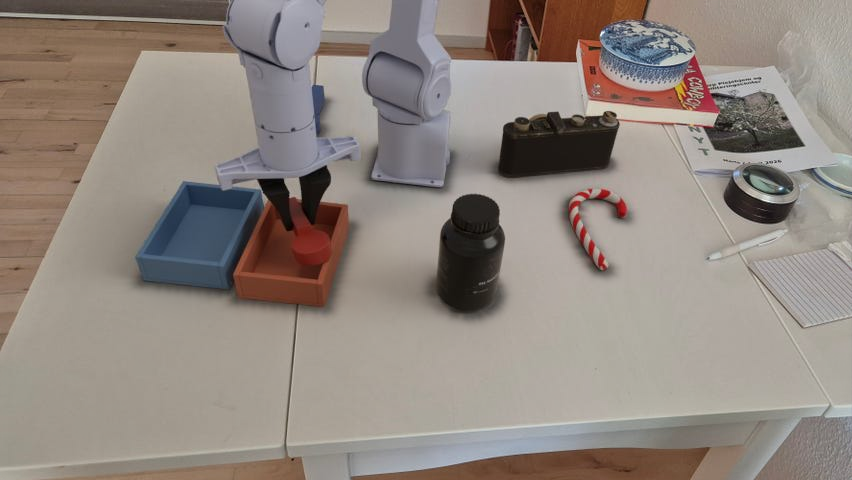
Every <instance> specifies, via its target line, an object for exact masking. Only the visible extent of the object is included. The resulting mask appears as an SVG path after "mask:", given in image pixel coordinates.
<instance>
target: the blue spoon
mask: <svg viewBox="0 0 852 480" xmlns="http://www.w3.org/2000/svg"><path fill="white" fill-rule="evenodd" d="M311 86H312V96H313V107H314V117H315V128H316V136H318V135H319V134H320V133H321V120H320V117H319V115H320V112H321V110H322V108H323V106H324V104H325V102H326V99H325V86H324V85H321V84H312V85H311Z"/></svg>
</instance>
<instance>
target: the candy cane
mask: <svg viewBox="0 0 852 480" xmlns="http://www.w3.org/2000/svg"><path fill="white" fill-rule="evenodd" d="M590 199H600V200H604V201H608V202H610V203H612V204H613V205H615V206H616V207H617V215H618V217H619V218H622V219H623V218H625V217H626V216H627V213H628V210H627V209H628V208H627V205H626V202H625V201H624V200H623V198H622V197H620V196H619V194H616V193H615V192H613V191H610V190H608V189H603V188H588V189H583V190H581V191H579V192H577V193H576V194H575V195H574V196H573V197H572V198H571V199H570V201H569V204H568V217H569V221H570V224H571V226H572V228H573V231H574V233H575V235H576V237H577V238H578V240H579V242H580V243H581V245H582V246H583V249H584V250H585V251H586V253H587V254H588V255H589V257H590V259H591V260H592V261H593V263H594V264H595V265H596V267H597V268H598V269H599V270H601V271H606V270H607V269H608V268H609V265H610V264H609V262H608V261H607V260H608V259H606V258H605V256H604V255H603V254H602V252H601V250H599V248H598V246H597V245H596V243H595V242H594V241H593V239H592V237H591V236H590V234H589V232H588V230H587V229H586V227H585V225H584V224H583V221H582V219H581V217H580V213H579V207H580V205H581V203H582V202H584V201H586V200H590Z"/></svg>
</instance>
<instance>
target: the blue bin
mask: <svg viewBox="0 0 852 480" xmlns="http://www.w3.org/2000/svg"><path fill="white" fill-rule="evenodd" d="M264 207H265V205H264V199H263V192H262V189H261V188H259V189H258V188H250V187H241V186H233V188H232V189H228V190H224V191H222V189H221V187H220V184H215V183H205V182H195V181H186V180H183V181H182V183H181V184H180V185H179V187H178V188H177V190H176V192H175V194H174V195H173V196H172V198H171V200H170V201H169V202H168V204H167V206H166V208H165V209H164V211H163V212H162V214H161V215H160V217H159V219H158V220H157V222H156V224H155V225H154V226H153V228H152V229H151V231H150V233H149V234H148V236H147V237H146V239H145V240H144V242H143V243H142V245H141V246H140V248H139V250H138V251H137V253H136V255H135V256H134V258H135V261H136V263H137V266H138V269H139V272H140V274H141V278H142V279H143V281H144V282H154V283H155V282H156V283H166V284H175V285H183V286H194V287H203V288H212V289H219V290H220V289H222V290H230V289H231V287H232V285H233V282H234V276H233V274H234V272H235V270H236V267H237V265H238V263H239V261H240V259H241V257H242V255H243V252H244V250H245V248H246V246H247V244H248V242H249V240H250V237H251V235H252V233H253V231H254V229H255V227H256V225H257V222H258V220H259V218H260V216H261V214H262V212H263V210H264Z"/></svg>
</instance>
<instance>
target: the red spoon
mask: <svg viewBox="0 0 852 480" xmlns="http://www.w3.org/2000/svg"><path fill="white" fill-rule="evenodd" d="M297 199H298V198H297V197H296V196H292V197H289V206H290V214H291V218H292V223H293V231H294V233H295V235H296V237H295V238H294V240H293V241H292V245H291V246H292V250H293V253H294V256H295V259H296V261H297V262H298V263H299V264H301V265H304V266H315V265H319V264H322V263H324V262H325V261H327V260H328V259H329V258H330V257H331V255H332V247H331V243H330V239H329V236H328V235H327V234H326V233H325V232H323V231H318V230H312V227H311V224H310V222H309V220H308V219H307V217H306V215H305V213H304V212H303V210H302V208H301V206H300V205H299V203H298V201H297Z"/></svg>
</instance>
